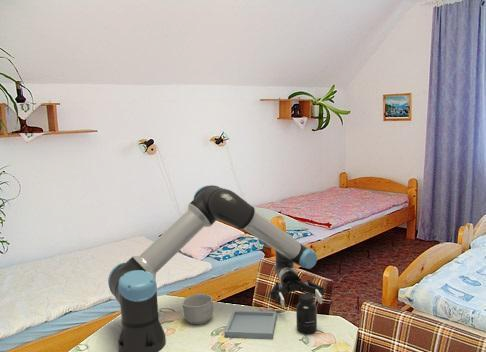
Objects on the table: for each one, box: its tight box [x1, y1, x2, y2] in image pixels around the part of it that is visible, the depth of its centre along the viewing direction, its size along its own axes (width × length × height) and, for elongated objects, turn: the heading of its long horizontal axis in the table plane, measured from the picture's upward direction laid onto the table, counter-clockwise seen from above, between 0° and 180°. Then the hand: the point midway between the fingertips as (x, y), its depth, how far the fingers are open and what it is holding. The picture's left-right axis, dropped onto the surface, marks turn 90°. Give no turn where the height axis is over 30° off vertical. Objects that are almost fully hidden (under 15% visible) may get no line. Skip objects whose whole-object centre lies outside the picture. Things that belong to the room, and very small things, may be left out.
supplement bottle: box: [295, 293, 318, 336], centre depth 147 cm, size 7×7×12 cm
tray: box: [223, 310, 278, 340], centre depth 152 cm, size 16×16×2 cm
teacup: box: [181, 291, 214, 325], centre depth 160 cm, size 14×11×8 cm
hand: (302, 301), depth 154 cm, fingers open, 13 cm apart
